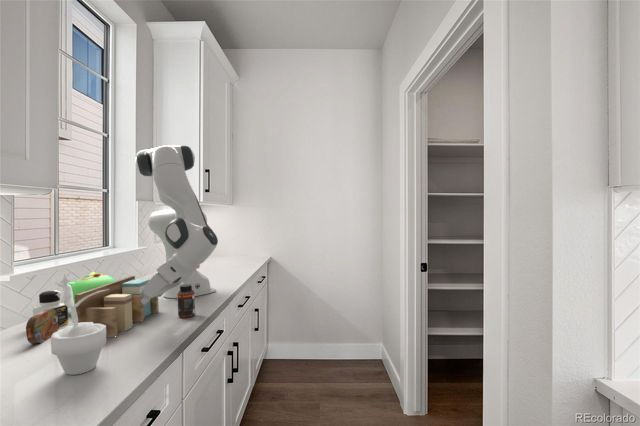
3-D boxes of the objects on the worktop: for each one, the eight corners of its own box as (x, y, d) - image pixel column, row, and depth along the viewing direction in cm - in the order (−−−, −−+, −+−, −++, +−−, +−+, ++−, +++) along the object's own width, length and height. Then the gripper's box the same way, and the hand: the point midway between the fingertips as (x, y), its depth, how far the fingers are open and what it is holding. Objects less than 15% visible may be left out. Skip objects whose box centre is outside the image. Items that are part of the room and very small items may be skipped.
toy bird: (91, 317, 136) (90, 277, 136) (56, 314, 141) (54, 276, 140) (128, 304, 154) (127, 269, 153) (96, 302, 158) (95, 268, 158)
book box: (132, 326, 124) (131, 294, 124) (125, 330, 120) (124, 297, 120) (112, 326, 125) (111, 294, 124) (104, 330, 121) (103, 297, 120)
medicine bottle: (48, 330, 122) (46, 294, 122) (33, 328, 125) (31, 293, 124) (68, 323, 129) (67, 289, 129) (54, 321, 131) (53, 288, 131)
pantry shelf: (158, 311, 141) (157, 275, 141) (109, 340, 111) (107, 294, 111) (132, 311, 142) (130, 275, 141) (76, 340, 112) (74, 294, 111)
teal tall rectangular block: (150, 313, 139) (149, 279, 138) (140, 319, 132) (139, 283, 131) (134, 313, 139) (133, 279, 139) (123, 319, 132) (121, 283, 132)
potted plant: (42, 384, 84) (38, 275, 83) (64, 363, 95) (61, 267, 95) (103, 376, 87) (99, 271, 86) (118, 357, 98) (115, 264, 98)
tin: (36, 347, 107) (35, 318, 107) (24, 348, 107) (22, 319, 106) (61, 330, 122) (60, 305, 122) (50, 331, 121) (49, 305, 121)
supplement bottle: (198, 314, 135) (197, 284, 135) (184, 319, 130) (183, 287, 130) (188, 312, 139) (187, 282, 139) (174, 316, 134) (173, 286, 134)
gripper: (185, 257, 131) (159, 285, 132) (156, 267, 111) (126, 299, 111) (198, 270, 131) (172, 297, 132) (171, 281, 110) (141, 314, 111)
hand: (151, 298), depth 121 cm, fingers open, 8 cm apart
